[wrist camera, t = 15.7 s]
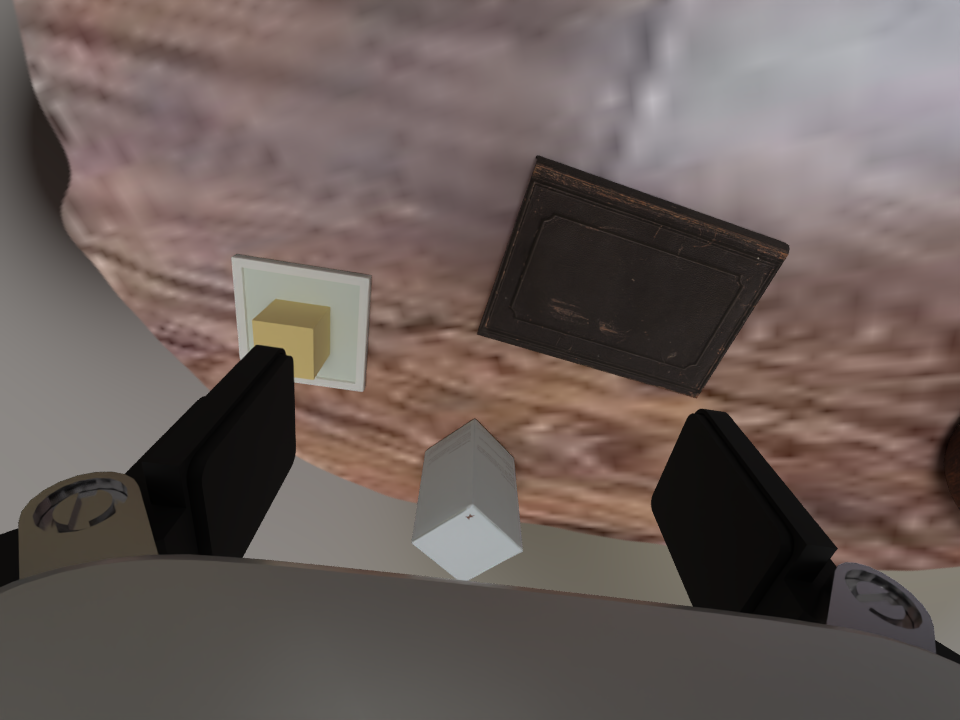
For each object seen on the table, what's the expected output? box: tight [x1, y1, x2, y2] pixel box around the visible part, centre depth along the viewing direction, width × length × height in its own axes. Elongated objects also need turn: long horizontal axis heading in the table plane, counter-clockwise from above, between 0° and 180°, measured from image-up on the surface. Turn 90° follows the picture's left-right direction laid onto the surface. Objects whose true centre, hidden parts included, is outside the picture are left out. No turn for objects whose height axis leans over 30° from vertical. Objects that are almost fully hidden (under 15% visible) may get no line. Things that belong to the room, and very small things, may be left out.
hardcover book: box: [477, 156, 789, 398], centre depth 43 cm, size 16×23×2 cm
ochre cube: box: [252, 299, 330, 380], centre depth 42 cm, size 5×5×5 cm
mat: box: [231, 254, 372, 392], centre depth 45 cm, size 12×12×1 cm
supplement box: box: [412, 419, 523, 581], centre depth 47 cm, size 7×7×13 cm
